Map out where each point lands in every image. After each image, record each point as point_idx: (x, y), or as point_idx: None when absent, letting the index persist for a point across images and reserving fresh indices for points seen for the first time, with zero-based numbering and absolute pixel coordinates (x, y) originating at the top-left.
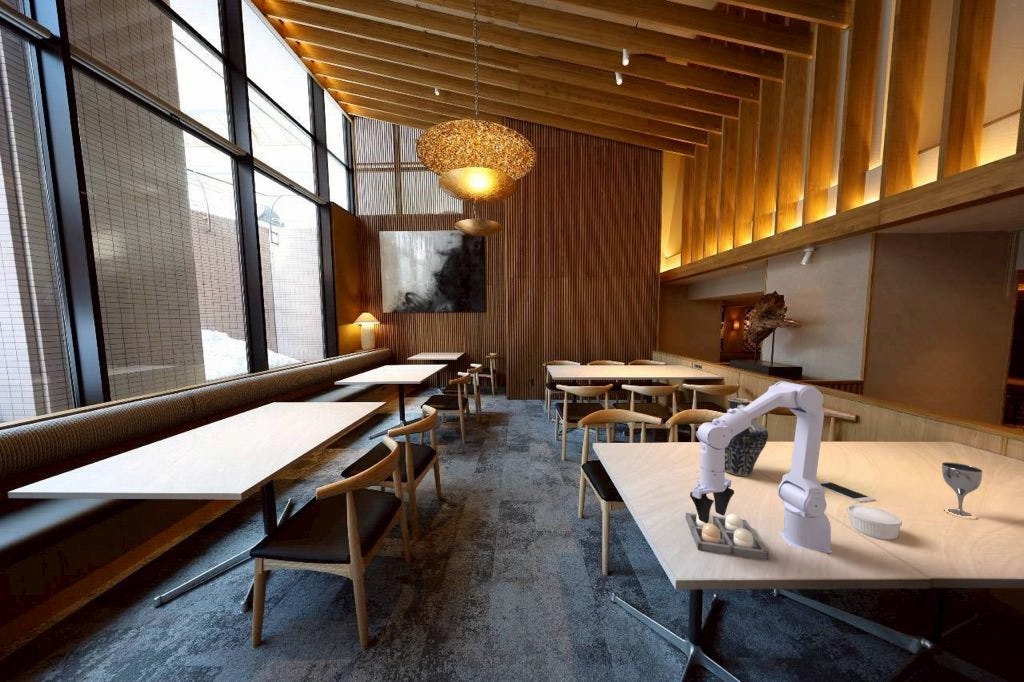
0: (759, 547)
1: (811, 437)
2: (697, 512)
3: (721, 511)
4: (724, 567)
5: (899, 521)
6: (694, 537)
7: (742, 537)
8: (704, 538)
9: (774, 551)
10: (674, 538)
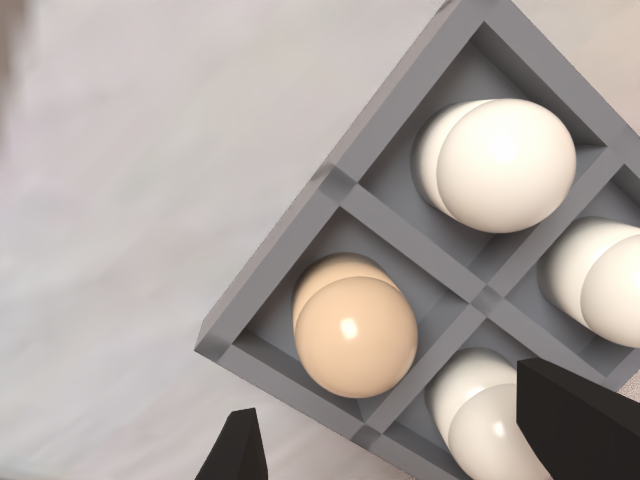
0: None
1: None
2: (203, 465)
3: (536, 433)
4: None
5: None
6: (257, 260)
7: (463, 470)
8: (292, 316)
9: None
10: (168, 155)
